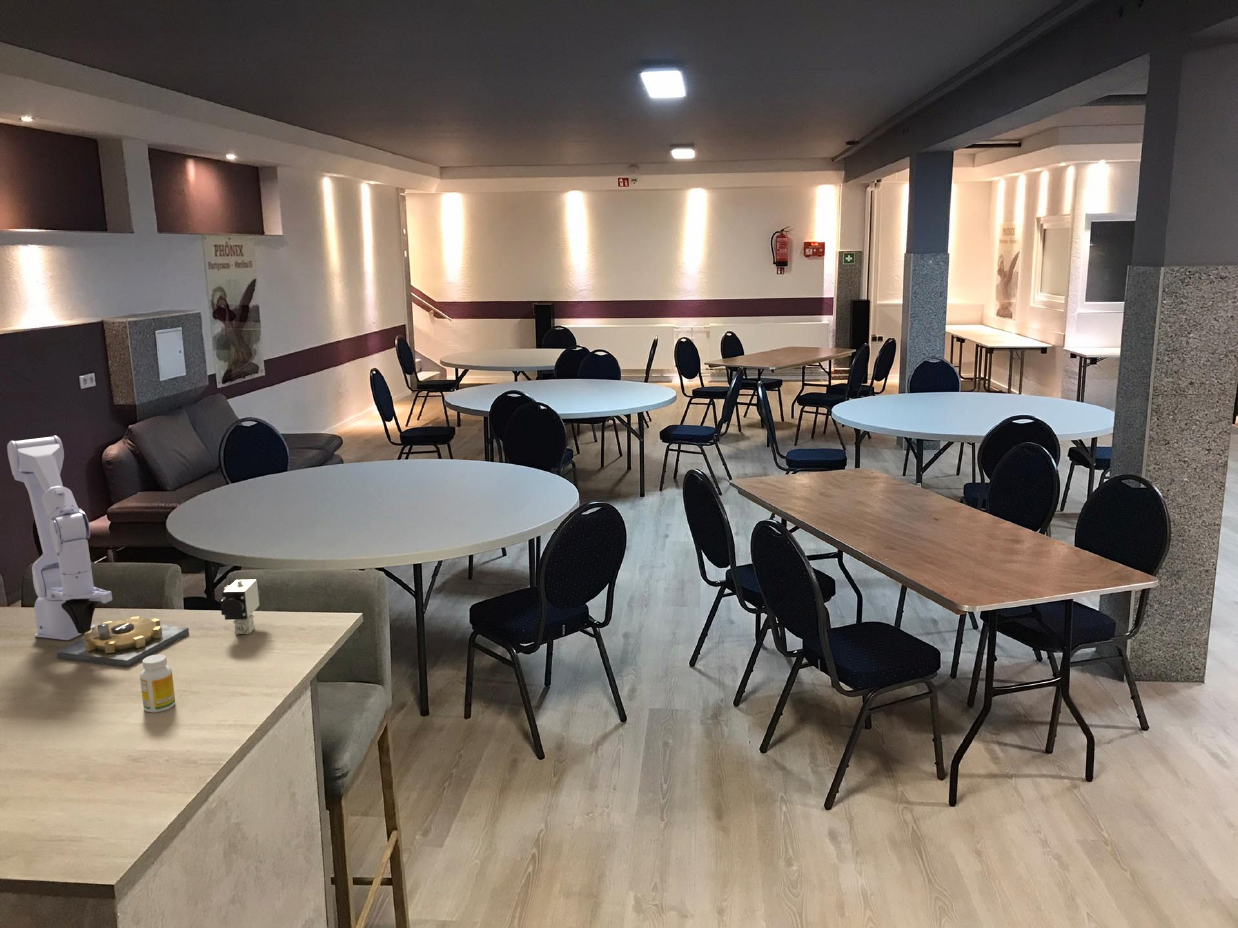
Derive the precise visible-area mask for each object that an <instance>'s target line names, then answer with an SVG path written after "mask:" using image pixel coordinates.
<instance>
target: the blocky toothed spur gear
mask: <svg viewBox="0 0 1238 928" xmlns="http://www.w3.org/2000/svg"><path fill="white" fill-rule="evenodd" d="M160 625H161V620H160V619H159V618H156V617H155V618H151V619H149V618H142V617H141V616H132V617H131V616H130V618H126V619H121V620H119V619H118V620H115V621H112V620H108V621H105V622H102V623H100V624H98V625H97V626H96V628H94V629H92V630H90V631H88V632H86V633H84V634H83V639H85V640H84V643H85V649H86V650H88V651H91V650H94V649H96V650H102V651H105V653H114V652H116V651H117V650H122V649H128V648H132V647H135V648H139V647H142V646H145V643H147V642H149V641H151V640H152V639H154V638H160V637H161V636H162V627H161V626H160Z"/></svg>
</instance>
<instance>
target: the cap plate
mask: <svg viewBox="0 0 1238 928" xmlns="http://www.w3.org/2000/svg"><path fill="white" fill-rule="evenodd" d="M160 626H161V627H162V636H161V637H160V638H154V639H152V640H151V641H149V642H147V643H145V646H142V647H139V648H135V647H132V648H128V649H122V650H117V651H116V652H114V653H105V651H102V650H96V649H94V650H91V651H88V650H86V649H85V643H84V640H85V639H84V638H82V639H79V640H78V641H75V642H74V643H72V644H70V645H66V646H65V647H63V648H61V649H59V650H57V651H55V652H56V658H57V659H58V660H67V661H76V662H81V663H82V662H83V663H92V664H99V665H107V666H114V667H123V668H130V667H131V666H133V665H135V664H136V663H138V662H141V661H143V659H144V658H146V657H148V656H151V655H154V654H155V653H157V652H159V651H160V650H163V649H164V648H166V647H167V646H169V645H172V644H173V643H174V644H175V642H177V641H179V640H181V639H182V638H184V637H186V636H188V635H190V632H189V631H190V630H189V627H185V626H176V625H168V624H167V625H166V624H160Z"/></svg>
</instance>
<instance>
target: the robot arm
mask: <svg viewBox="0 0 1238 928" xmlns="http://www.w3.org/2000/svg"><path fill="white" fill-rule="evenodd" d="M6 449H7V457H8V462H9V465H10V471H11V474H12V476H13V478H14V480H15V481H18V482H22V483H24V486H25V488H26V490H27V493H28V495H29V500H30V504H31V507H32V508H31V509H32V512H33V517H34V521H35V525H36V528H37V529H36V530H37V534H38V536H39V542H40V546H41V547H40V548H41V550H42V554H41V555H40V557H38V559H36V560H35V561H34V562H33V564H32V567H31V573H32V582H33V587H34V591H35V594H36V596H37V599H36V600H35V603H34V607H33V609H34V618H35V624H36V629H37V630H36V631H37V633H35V634H34V637H36V638H46V639H52V640H53V639H55V640H62V641H71V640H73V639H75V638H77V637H79V636H81V635H84V633H86V632H88V631H90V630H94V629H95V628H97V625H96V624H92V621H93V617H94V612H95V611H96V607H97V606H98V603H99V602H101V604H107V603H109V602H111V601H113V594H112V591H110V590H105V589H103V588H98V587H97V586H95V585H94V578H93V577H94V576H93V573H92V572H93V571H92V564H91V558H90V557H91V556H90V550H89V548H90V547H89V542H88V539H90V537H91V528H90V527H91V526H90V523H89V522H90V521H89V519H88V517H87V514H86V513H85V511H83V509H82V508H79V507H78V504H77V502H76V499H75V496H74V495H73V492H72V490H71V489H69V488H68V487H66V486H63V482H62V478H61V472H62V469H63V463H64V459H65V452H64V451H65V450H64V446H63V442H62V439H61V438H60V437H59V436H57V435H52V436H48V437H47V436H46V437H39V438H30V439H22V440H10V441H9V442H8V443H7V447H6Z"/></svg>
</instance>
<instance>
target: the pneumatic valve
mask: <svg viewBox="0 0 1238 928" xmlns="http://www.w3.org/2000/svg"><path fill="white" fill-rule="evenodd" d="M260 587H261V586H260V585H259V579H258V578H236V579H235V580H234V582H232V583H231V584H230V585H228V584H227V585H226V586H225V587H224V588H223V592H222V593H221V594H222V595H221V596H222V599H221V600H220V602H219V603H220V605H219V606H220V613H221V616H224V620H225V621H226V620H227V621H229V620H233V624H234V634H235V635H237V636H239V634H240V635H241V634H242V635H245V634H246V635H250V634H251V633H252V632H253V631H254V629H256V626H255V624H254V623H255V622H254V617H255V616H254V614H253V613H254V611H256V610H257V609H258V607H259V606H261V600H260V593H261V588H260Z"/></svg>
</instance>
